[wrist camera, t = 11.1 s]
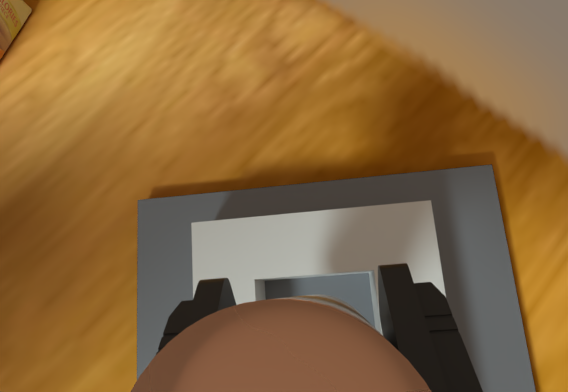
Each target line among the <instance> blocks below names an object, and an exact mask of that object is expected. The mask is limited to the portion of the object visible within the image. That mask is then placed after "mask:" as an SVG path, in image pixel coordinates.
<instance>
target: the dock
mask: <svg viewBox="0 0 568 392" xmlns="http://www.w3.org/2000/svg"><path fill="white" fill-rule="evenodd" d="M402 263H407V264H408V267H409V270H410V273H411V276H412V279H413V282H414V283H423V282H432V283H433V284H434V285H435V286H436V287H437V288H438V289H439V290H440V291H441V293H442V294H443V295H444V296H445V297H446V299H447V302H448V304H449V307H450V309H451V312H452V316H453V318H454V319H455V322H456V325H457V327H458V332H459V333H460V335H461V337H462V340H463V342H464V345H465V347H466V350H467V352H468V355H469V358H470V360H471V363H472V365H473V368H474V370H475V373H476V375H477V378H478V380H479V383H480V385H481V388H482V390H483V392H536V390H535V385H534V380H533V375H532V370H531V364H530V359H529V354H528V349H527V344H526V339H525V333H524V328H523V323H522V318H521V313H520V307H519V302H518V297H517V292H516V287H515V282H514V276H513V271H512V266H511V261H510V256H509V251H508V245H507V240H506V235H505V230H504V225H503V219H502V214H501V209H500V204H499V199H498V194H497V188H496V183H495V178H494V173H493V168H492V165H483V166H473V167H463V168H453V169H443V170H433V171H423V172H413V173H403V174H393V175H383V176H373V177H363V178H353V179H343V180H333V181H323V182H313V183H303V184H294V185H284V186H274V187H264V188H254V189H244V190H234V191H224V192H214V193H204V194H194V195H184V196H174V197H164V198H154V199H144V200H138V273H137V380H138V378H139V377H140V375H141V374H142V373H143V371H144V370H145V369H146V367H147V366H148V365H149V363H150V362H151V361H152V359H153V358H154V357H155V356H156V353H157V352H158V347H159V344H160V341H161V338H162V337H163V332H164V329H165V326H166V324H167V321H168V318H169V316H170V315H171V313H172V312H173V311H174V310H175V308H176V307H177V306H178V305H179V303H180V302H181V301H187V300H193V298H194V295H195V291H196V288H197V285H198V282H199V281H200V280H205V279H217V278H228V279H229V281H230V284H231V288H232V291H233V295H234V298H235V302H236V305H238V304H242V303H246V302H253V301H260V300H267V299H277V298H286V297H295V296H305V295H314V294H322V295H329V296H333V297H336V298H339V299H341V300H343V301H345V302H347V303H349V304H350V305H351V306H353V307H354V308H355V309H356V310H357V311H358V312H359V313H360V314H361V315H362V316H363V317H364V318H365V319H366V320H367V321H368V322H369V323H370V324H371V325H372V326H374V327H375V328H376V329H377V330H378V331H379V332H380V333H381V334H382V328H381V322H380V314H379V295H378V265H390V264H402ZM382 335H383V334H382Z"/></svg>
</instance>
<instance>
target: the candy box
mask: <svg viewBox="0 0 568 392" xmlns="http://www.w3.org/2000/svg"><path fill="white" fill-rule="evenodd" d="M31 11H32V9H31V8H30V7H29V6H28V5H27V4H26V3H25V2H24V1H23V0H0V59H1V58H2V56H3V55H4V53H5V51H6V50H7V48H8V47H9V45H10V44H11V42H12V40H13V39H14V38H15V36H16V35H17V33H18V32H19V30H20V29H21V27H22V26H23V24H24V22H25V21H26V19H27V18H28V16H29V15H30V13H31Z"/></svg>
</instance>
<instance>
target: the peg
mask: <svg viewBox="0 0 568 392" xmlns="http://www.w3.org/2000/svg"><path fill="white" fill-rule="evenodd" d="M131 392H431V390H430V389H429V387H428V385H427V384H426V382H425V381H424V379H423V378H422V377H421V376H420V374H419V373H418V372H417V371H416V369H415V368H414V367H413V366H412V364H411V363H410V362H409V361H408V360H407V359H406V358H405V357H404V356H403V355H402V354H401V353H400V352H399V351H398V350H397V349H396V348H395V347H394V346H393V345H392V344H391V343H390V342H389V341H388V340H387V339H386V338H385V337H384V336H383V335H382V334H381V333H380V332H379V331H378V330H377V329H376V328H375V327H374V326H372V325H371V324H370V323H369V322H368V321H367V320H366V319H365V318H364V317H363V316H362V315H361V314H360V313H359V312H358V311H357V310H356V309H355V308H354V307H353V306H351V305H350V304H349V303H347V302H345V301H343V300H341V299H339V298H336V297H333V296H329V295H322V294H314V295H305V296H295V297H286V298H277V299H267V300H260V301H253V302H246V303H242V304H238V305H235V306H231V307H228V308H224V309H222V310H219V311H217V312H215V313H213V314H210V315H208V316H206V317H204V318H202V319H200V320H199V321H197V322H196V323H194V324H192V325H191V326H189V327H187V328H186V329H184V330H183V331H182V332H181V333H179V334H178V335H177V336H176V337H175V338H173V339H172V340H171V341H170V342H168V343H167V344H166V345H165V347H164V348H163V349H162V350H161V351H160V352H159V353H158V354H157V355H156V356H155V357H154V358H153V359H152V361H151V362H150V363H149V365H148V366H147V367H146V369H145V370H144V371H143V373H142V374H141V375H140V377H139V378H138V380H137V382H136V383H135V385H134V387H133V389H132V390H131Z"/></svg>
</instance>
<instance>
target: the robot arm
mask: <svg viewBox="0 0 568 392" xmlns="http://www.w3.org/2000/svg"><path fill="white" fill-rule="evenodd" d="M378 295H379V314H380V322H381V328H382V334H383V336H384V337H385V338H386V339H387V340H388V341H389V342H390V343H391V344H392V345H393V346H394V347H395V348H396V349H397V350H398V351H399V352H400V353H401V354H402V355H403V356H404V357H405V358H406V359H407V360H408V361H409V362H410V363H411V364H412V366H413V367H414V368H415V369H416V371H417V372H418V373H419V374H420V376H421V377H422V378H423V379H424V381H425V382H426V384H427V385H428V387H429V389H430V390H431V392H483V390H482V388H481V385H480V383H479V380H478V378H477V375H476V373H475V370H474V368H473V365H472V363H471V360H470V358H469V355H468V352H467V350H466V347H465V345H464V342H463V340H462V337H461V335H460V333H459V332H458V327H457V325H456V322H455V319H454V318H453V316H452V312H451V309H450V307H449V304H448V302H447V299H446V297H445V296H444V295H443V294H442V293H441V291H440V290H439V289H438V288H437V287H436V286H435V285H434V284H433V283H432V282H423V283H414V282H413V279H412V276H411V273H410V270H409V267H408V264H407V263H402V264H390V265H378ZM235 305H236V302H235V298H234V295H233V291H232V288H231V284H230V281H229V279H228V278H217V279H205V280H200V281H199V282H198V285H197V288H196V291H195V295H194V298H193V300H187V301H181V302H180V303H179V305H178V306H177V307H176V308H175V310H174V311H173V312H172V313H171V315H170V316H169V318H168V321H167V324H166V326H165V329H164V332H163V337H162V338H161V341H160V344H159V347H158V352H157V353H156V355H157V354H158V353H159V352H160V351H161V350H162V349H163V348H164V347H165V345H166V344H167V343H168V342H170V341H171V340H172V339H173V338H175V337H176V336H177V335H178V334H179V333H181V332H182V331H183V330H184V329H186V328H187V327H189V326H191V325H192V324H194V323H196V322H197V321H199V320H200V319H202V318H204V317H206V316H208V315H210V314H213V313H215V312H217V311H219V310H222V309H224V308H228V307H231V306H235Z"/></svg>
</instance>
